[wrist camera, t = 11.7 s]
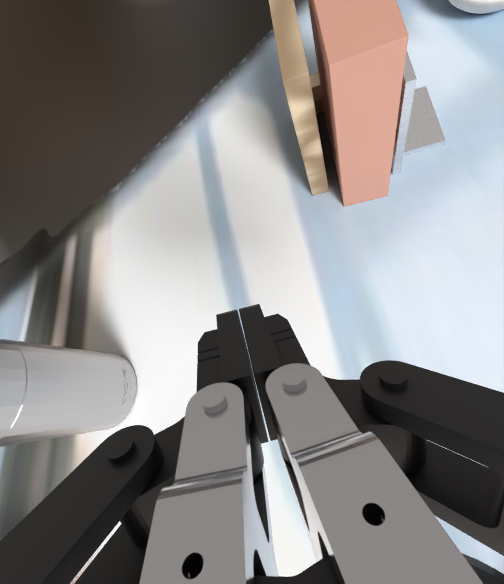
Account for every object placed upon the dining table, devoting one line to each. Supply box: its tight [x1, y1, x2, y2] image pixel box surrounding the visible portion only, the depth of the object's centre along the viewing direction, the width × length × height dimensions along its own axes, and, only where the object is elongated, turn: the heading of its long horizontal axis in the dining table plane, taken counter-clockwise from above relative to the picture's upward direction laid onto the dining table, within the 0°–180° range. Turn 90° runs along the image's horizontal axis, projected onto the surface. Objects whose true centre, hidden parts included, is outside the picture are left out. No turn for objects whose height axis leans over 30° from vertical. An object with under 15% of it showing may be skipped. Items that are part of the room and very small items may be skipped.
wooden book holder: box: [269, 0, 329, 196], centre depth 32 cm, size 10×14×16 cm
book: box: [308, 0, 408, 207], centre depth 30 cm, size 5×14×18 cm, turn 5°
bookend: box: [391, 50, 445, 174], centre depth 32 cm, size 6×12×12 cm, turn 6°
